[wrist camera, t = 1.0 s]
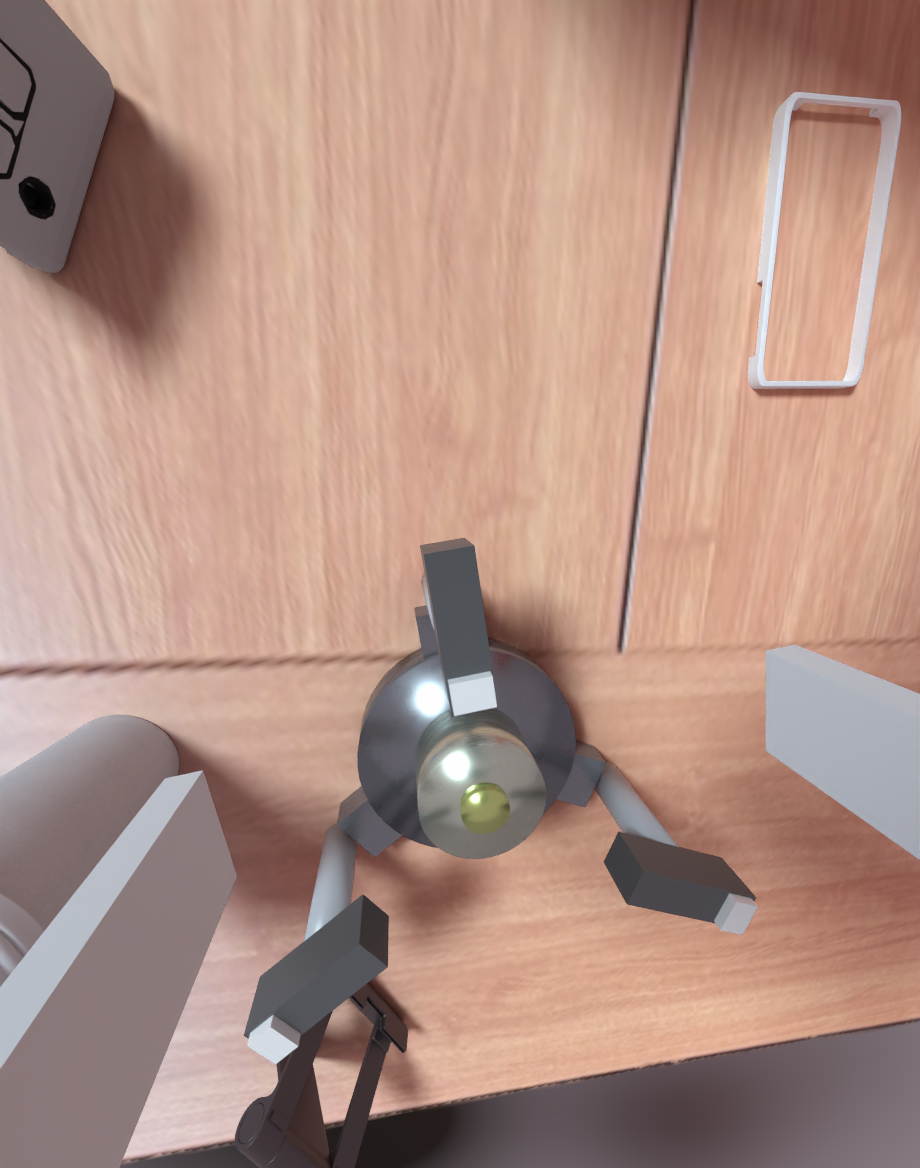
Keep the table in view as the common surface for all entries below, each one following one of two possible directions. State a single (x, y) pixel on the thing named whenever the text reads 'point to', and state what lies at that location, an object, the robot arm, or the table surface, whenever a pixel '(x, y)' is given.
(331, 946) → the foot screw
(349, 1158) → the portable electronic device stand
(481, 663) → the foot screw
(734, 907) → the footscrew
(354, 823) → the levelling base
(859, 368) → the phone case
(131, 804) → the coffee cup
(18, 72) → the electrical switch
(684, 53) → the table surface
